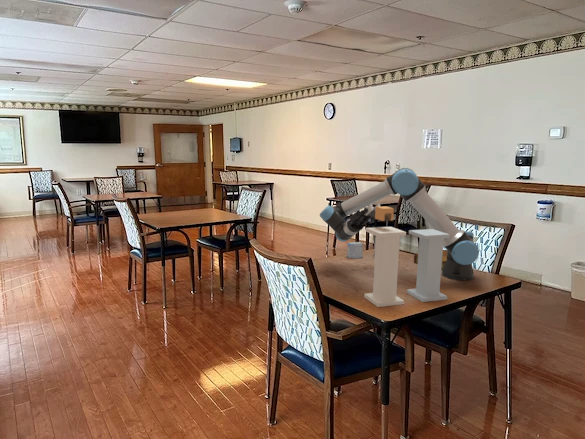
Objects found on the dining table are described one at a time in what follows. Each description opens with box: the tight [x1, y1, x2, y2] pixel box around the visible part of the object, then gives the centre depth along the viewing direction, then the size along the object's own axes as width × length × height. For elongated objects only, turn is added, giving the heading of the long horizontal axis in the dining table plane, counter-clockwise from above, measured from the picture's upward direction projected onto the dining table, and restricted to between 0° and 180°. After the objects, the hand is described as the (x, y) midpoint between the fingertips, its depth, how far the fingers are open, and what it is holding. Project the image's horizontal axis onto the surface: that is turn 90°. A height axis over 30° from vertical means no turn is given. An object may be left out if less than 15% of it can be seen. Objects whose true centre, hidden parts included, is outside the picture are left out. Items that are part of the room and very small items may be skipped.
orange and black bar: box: [363, 205, 395, 222], centre depth 183 cm, size 5×18×5 cm, turn 18°
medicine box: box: [346, 241, 364, 259], centre depth 250 cm, size 8×4×9 cm, turn 104°
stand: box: [363, 226, 407, 308], centre depth 179 cm, size 12×14×30 cm
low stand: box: [406, 228, 450, 303], centre depth 186 cm, size 12×14×28 cm
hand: (375, 206), depth 184 cm, fingers closed on orange and black bar, 3 cm apart
